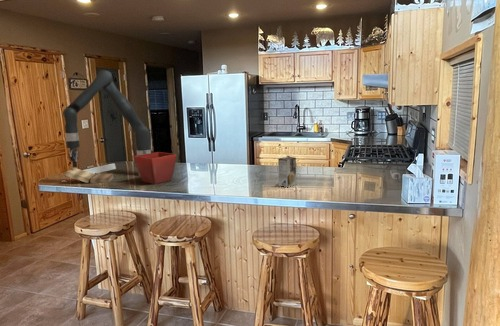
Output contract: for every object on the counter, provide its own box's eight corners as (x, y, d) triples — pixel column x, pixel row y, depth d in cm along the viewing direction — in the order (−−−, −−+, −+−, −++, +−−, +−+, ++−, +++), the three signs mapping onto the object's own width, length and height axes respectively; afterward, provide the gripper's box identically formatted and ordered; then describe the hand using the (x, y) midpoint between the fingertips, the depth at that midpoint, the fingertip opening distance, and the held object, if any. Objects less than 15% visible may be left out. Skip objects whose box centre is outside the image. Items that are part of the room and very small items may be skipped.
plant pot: (152, 186, 216) (150, 158, 213) (134, 182, 228) (132, 155, 225) (178, 180, 230) (177, 154, 227) (160, 177, 242) (158, 151, 239)
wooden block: (113, 177, 243) (113, 173, 242) (108, 182, 229) (108, 177, 229) (96, 178, 241) (95, 174, 241) (90, 183, 228) (89, 178, 227)
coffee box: (287, 183, 214) (286, 156, 211) (296, 184, 210) (296, 157, 207) (278, 186, 207) (277, 158, 205) (287, 187, 203) (287, 159, 201)
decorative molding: (69, 181, 252) (78, 178, 247) (67, 174, 251) (76, 171, 247) (107, 171, 282) (116, 169, 278) (105, 165, 282) (114, 163, 278)
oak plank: (93, 178, 241) (95, 174, 241) (87, 183, 227) (89, 178, 227) (72, 171, 238) (73, 167, 238) (64, 175, 225) (66, 171, 224)
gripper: (75, 140, 223) (78, 168, 226) (81, 138, 236) (84, 165, 238) (62, 141, 222) (65, 169, 224) (69, 139, 235) (72, 165, 237)
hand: (75, 167), depth 231 cm, fingers closed
